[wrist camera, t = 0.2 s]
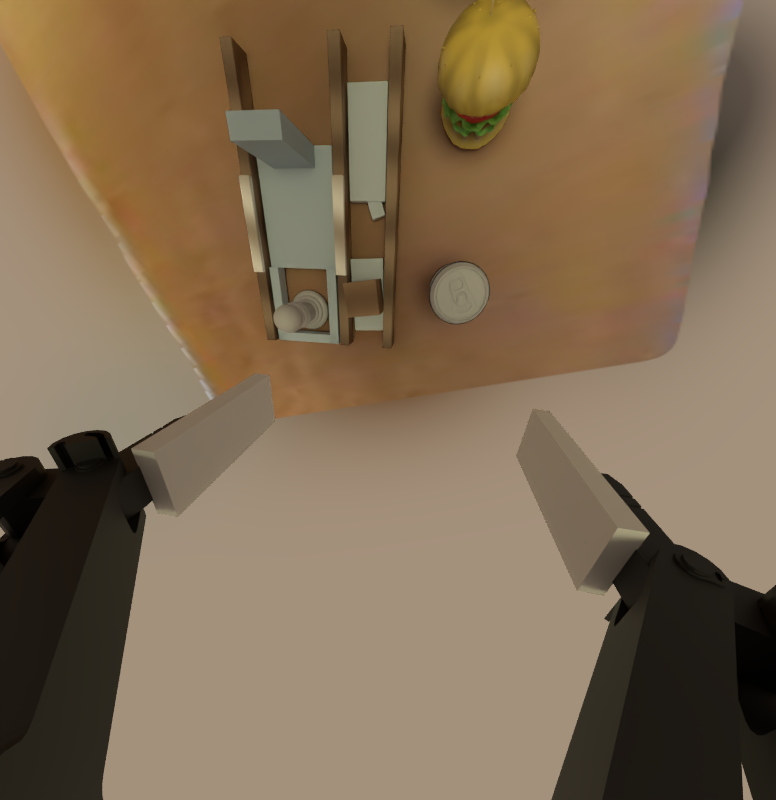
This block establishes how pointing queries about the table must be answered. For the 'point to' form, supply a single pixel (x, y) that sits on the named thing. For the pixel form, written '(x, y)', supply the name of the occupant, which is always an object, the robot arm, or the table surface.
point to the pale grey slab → (293, 205)
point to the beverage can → (459, 292)
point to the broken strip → (368, 171)
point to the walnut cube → (364, 298)
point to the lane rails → (340, 179)
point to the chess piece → (302, 312)
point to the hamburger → (486, 68)
